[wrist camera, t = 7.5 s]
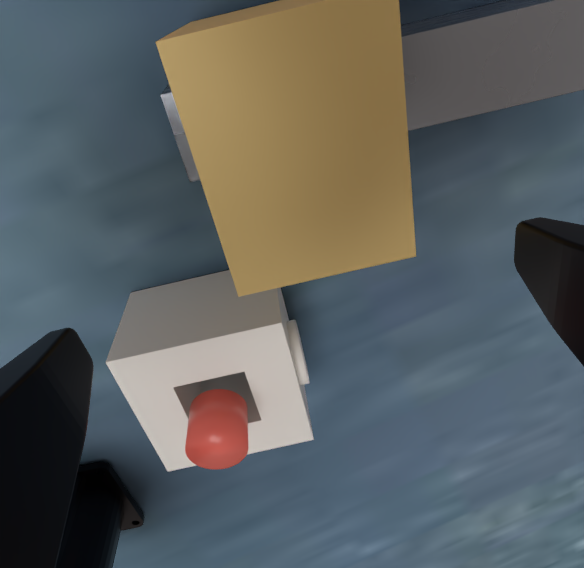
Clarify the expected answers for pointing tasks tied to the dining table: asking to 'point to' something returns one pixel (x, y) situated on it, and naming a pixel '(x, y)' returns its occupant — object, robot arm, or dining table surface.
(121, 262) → the dining table surface
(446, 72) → the rail
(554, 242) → the robot arm
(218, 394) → the button
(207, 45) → the block
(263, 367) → the white button housing
